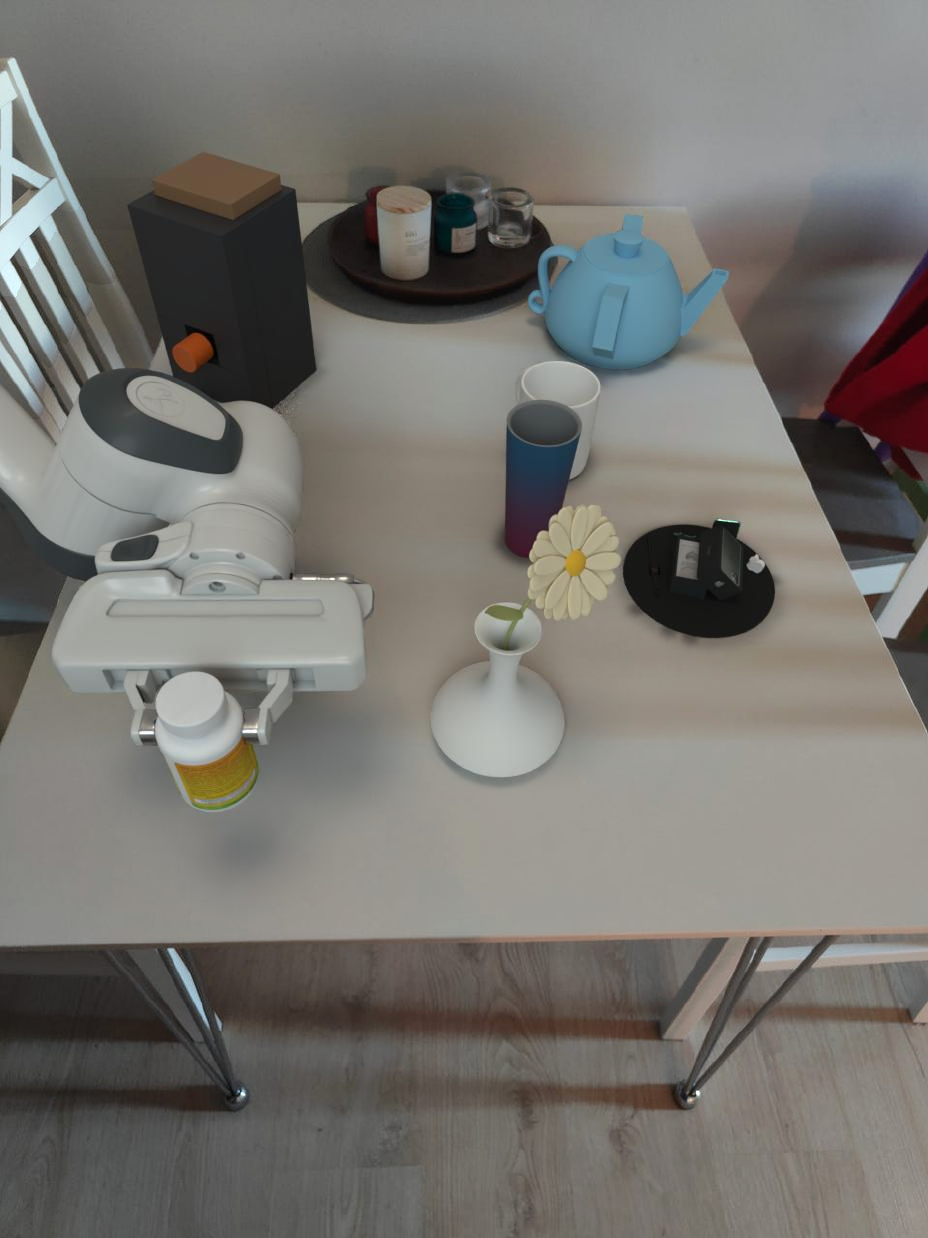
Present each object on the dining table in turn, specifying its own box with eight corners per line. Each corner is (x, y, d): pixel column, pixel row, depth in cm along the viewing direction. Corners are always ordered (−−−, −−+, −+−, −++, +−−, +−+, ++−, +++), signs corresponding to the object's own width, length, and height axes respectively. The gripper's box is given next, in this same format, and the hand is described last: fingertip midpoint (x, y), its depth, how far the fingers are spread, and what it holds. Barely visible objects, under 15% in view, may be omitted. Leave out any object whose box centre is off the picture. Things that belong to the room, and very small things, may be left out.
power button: (198, 376, 93) (192, 350, 91) (175, 367, 94) (169, 341, 92) (216, 362, 95) (210, 337, 93) (193, 354, 96) (187, 328, 94)
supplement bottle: (277, 773, 58) (255, 691, 51) (217, 830, 55) (185, 753, 48) (222, 730, 60) (194, 646, 53) (162, 784, 57) (123, 703, 50)
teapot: (589, 393, 104) (608, 287, 94) (510, 316, 115) (518, 213, 104) (711, 354, 111) (741, 251, 100) (625, 285, 121) (644, 185, 111)
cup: (507, 569, 85) (519, 451, 74) (487, 523, 89) (497, 404, 78) (571, 558, 87) (593, 440, 75) (549, 513, 91) (567, 394, 79)
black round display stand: (773, 652, 80) (793, 614, 75) (614, 620, 82) (624, 581, 77) (774, 541, 89) (791, 502, 85) (631, 515, 91) (641, 475, 87)
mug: (485, 430, 99) (490, 352, 91) (546, 412, 102) (556, 335, 94) (536, 493, 93) (546, 416, 85) (600, 472, 95) (616, 395, 87)
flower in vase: (450, 801, 69) (460, 599, 49) (415, 689, 76) (412, 473, 56) (600, 764, 71) (664, 559, 52) (553, 659, 78) (595, 443, 59)
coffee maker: (235, 440, 97) (190, 236, 78) (153, 407, 100) (92, 203, 82) (316, 370, 106) (293, 172, 88) (239, 341, 109) (201, 145, 91)
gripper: (377, 603, 64) (370, 764, 56) (101, 604, 63) (50, 768, 55) (373, 544, 59) (365, 710, 51) (74, 545, 59) (13, 714, 50)
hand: (199, 740), depth 53 cm, fingers closed on supplement bottle, 5 cm apart
